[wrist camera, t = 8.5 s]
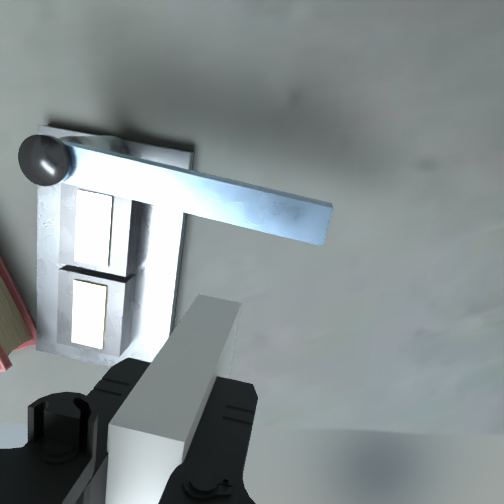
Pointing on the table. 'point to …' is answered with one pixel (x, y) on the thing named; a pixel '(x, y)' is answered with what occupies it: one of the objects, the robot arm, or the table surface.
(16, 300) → the book
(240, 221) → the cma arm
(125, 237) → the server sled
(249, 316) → the table surface
